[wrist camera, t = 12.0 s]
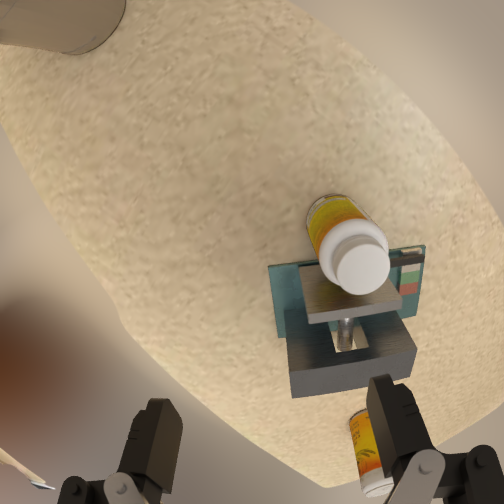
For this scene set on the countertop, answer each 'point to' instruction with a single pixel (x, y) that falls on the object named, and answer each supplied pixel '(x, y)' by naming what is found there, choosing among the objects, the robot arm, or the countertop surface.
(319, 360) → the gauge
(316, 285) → the grey plate with rod
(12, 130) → the countertop surface
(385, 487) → the beer can
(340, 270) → the supplement bottle
